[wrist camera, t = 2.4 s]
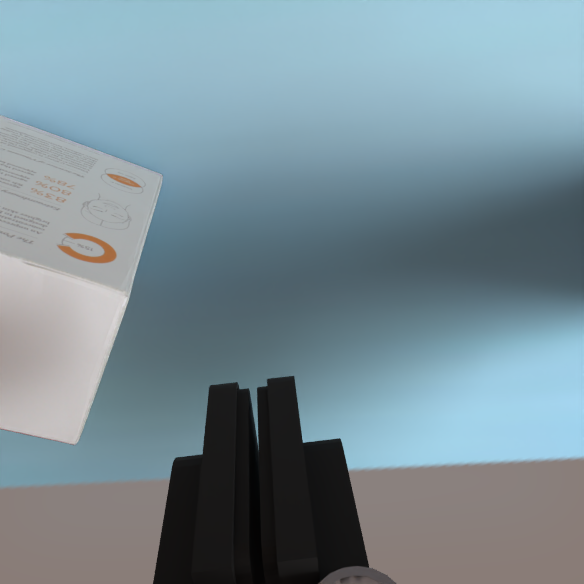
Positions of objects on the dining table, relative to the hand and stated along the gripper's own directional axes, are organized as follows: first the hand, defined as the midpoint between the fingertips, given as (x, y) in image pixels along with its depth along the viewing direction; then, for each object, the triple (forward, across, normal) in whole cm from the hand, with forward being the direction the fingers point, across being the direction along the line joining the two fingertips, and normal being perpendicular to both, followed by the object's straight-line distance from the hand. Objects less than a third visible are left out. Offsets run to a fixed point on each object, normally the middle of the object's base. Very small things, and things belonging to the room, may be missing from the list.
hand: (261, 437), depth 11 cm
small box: (+19, +9, 0) cm, 21 cm away
